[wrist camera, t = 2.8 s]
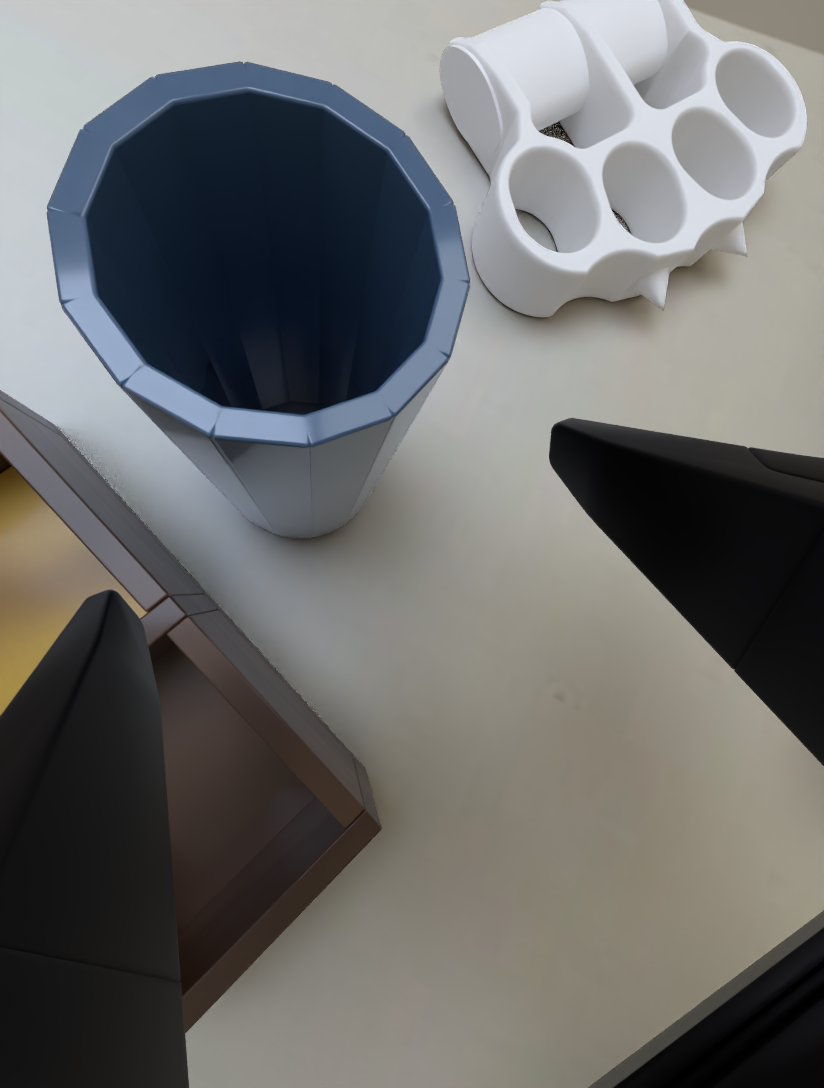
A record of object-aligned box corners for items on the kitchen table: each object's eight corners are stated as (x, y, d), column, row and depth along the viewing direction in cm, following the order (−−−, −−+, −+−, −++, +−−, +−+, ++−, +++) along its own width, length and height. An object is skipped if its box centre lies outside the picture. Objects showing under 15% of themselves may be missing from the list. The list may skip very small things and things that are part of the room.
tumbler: (370, 543, 20) (466, 462, 7) (216, 533, 19) (18, 419, 6) (377, 405, 21) (475, 114, 8) (228, 388, 20) (69, 16, 7)
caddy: (365, 768, 19) (383, 829, 14) (169, 963, 17) (112, 1110, 12) (53, 423, 18) (-43, 362, 13) (-194, 588, 16) (-414, 588, 11)
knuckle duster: (648, 2, 26) (791, 232, 26) (375, 120, 22) (549, 388, 22) (697, -84, 23) (859, 181, 23) (386, 38, 19) (589, 353, 19)
